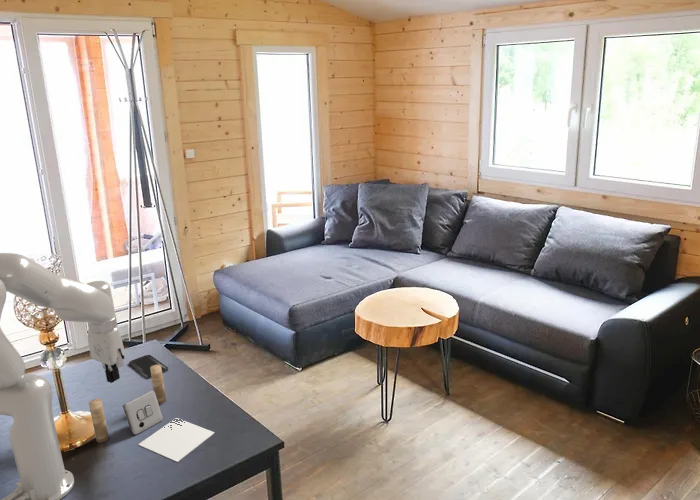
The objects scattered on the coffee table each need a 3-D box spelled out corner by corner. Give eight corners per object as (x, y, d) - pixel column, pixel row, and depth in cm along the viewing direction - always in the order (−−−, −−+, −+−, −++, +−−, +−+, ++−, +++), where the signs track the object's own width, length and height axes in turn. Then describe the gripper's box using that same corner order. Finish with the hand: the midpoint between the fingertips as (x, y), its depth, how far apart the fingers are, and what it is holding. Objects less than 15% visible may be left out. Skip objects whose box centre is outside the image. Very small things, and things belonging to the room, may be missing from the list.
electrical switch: (134, 436, 160) (128, 406, 157) (125, 431, 163) (118, 402, 160) (163, 420, 166) (158, 392, 164) (153, 415, 170) (148, 387, 167)
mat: (177, 462, 149) (177, 461, 149) (138, 444, 156) (138, 444, 156) (214, 432, 160) (214, 432, 160) (176, 418, 167) (176, 417, 167)
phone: (148, 354, 204) (169, 368, 194) (149, 356, 204) (169, 371, 194) (127, 362, 199) (147, 377, 188) (128, 364, 199) (147, 380, 189)
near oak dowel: (101, 444, 157) (94, 406, 153) (94, 440, 158) (86, 403, 154) (111, 437, 159) (104, 400, 155) (103, 434, 161) (96, 397, 157)
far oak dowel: (160, 405, 174) (155, 370, 170) (153, 402, 175) (147, 368, 172) (168, 400, 176) (163, 366, 173) (161, 397, 178) (156, 363, 174)
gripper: (74, 324, 161) (86, 379, 167) (108, 335, 154) (120, 393, 160) (96, 313, 167) (107, 367, 174) (131, 324, 160) (141, 380, 166)
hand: (113, 379), depth 167 cm, fingers closed
